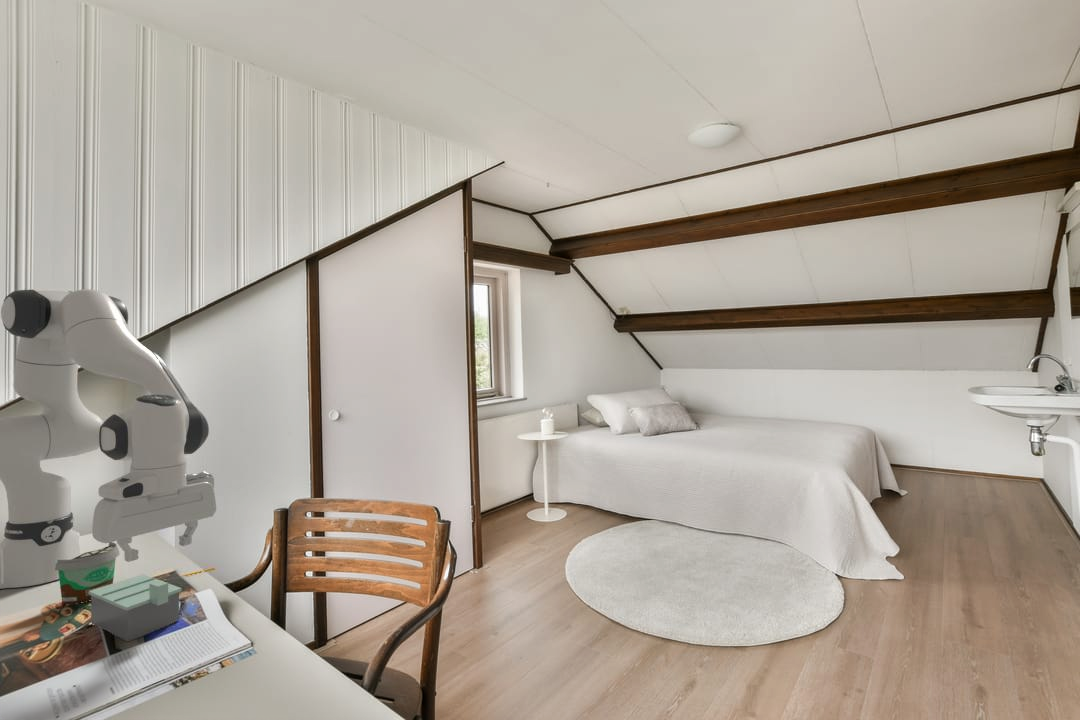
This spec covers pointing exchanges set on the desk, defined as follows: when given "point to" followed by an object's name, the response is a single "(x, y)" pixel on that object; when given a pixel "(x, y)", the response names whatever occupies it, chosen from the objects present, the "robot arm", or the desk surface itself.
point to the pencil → (200, 571)
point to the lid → (136, 592)
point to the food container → (86, 573)
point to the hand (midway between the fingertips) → (159, 552)
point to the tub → (134, 617)
